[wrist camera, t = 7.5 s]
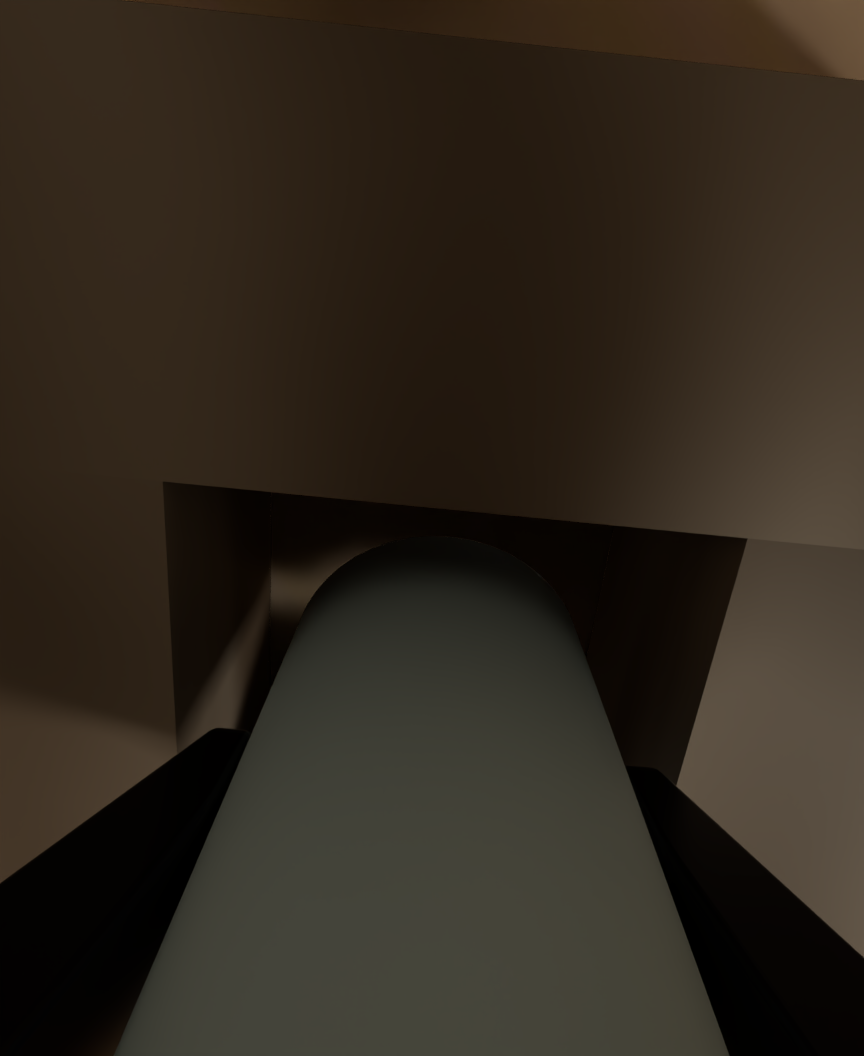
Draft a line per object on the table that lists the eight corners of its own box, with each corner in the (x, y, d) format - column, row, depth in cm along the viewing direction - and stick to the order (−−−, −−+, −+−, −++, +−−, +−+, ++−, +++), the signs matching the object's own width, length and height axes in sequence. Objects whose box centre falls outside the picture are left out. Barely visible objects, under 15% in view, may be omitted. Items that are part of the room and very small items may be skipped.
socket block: (960, 196, 10) (1361, 134, 5) (719, 896, 15) (829, 1147, 10) (-7, 93, 9) (-374, -54, 5) (85, 840, 14) (-64, 1073, 10)
